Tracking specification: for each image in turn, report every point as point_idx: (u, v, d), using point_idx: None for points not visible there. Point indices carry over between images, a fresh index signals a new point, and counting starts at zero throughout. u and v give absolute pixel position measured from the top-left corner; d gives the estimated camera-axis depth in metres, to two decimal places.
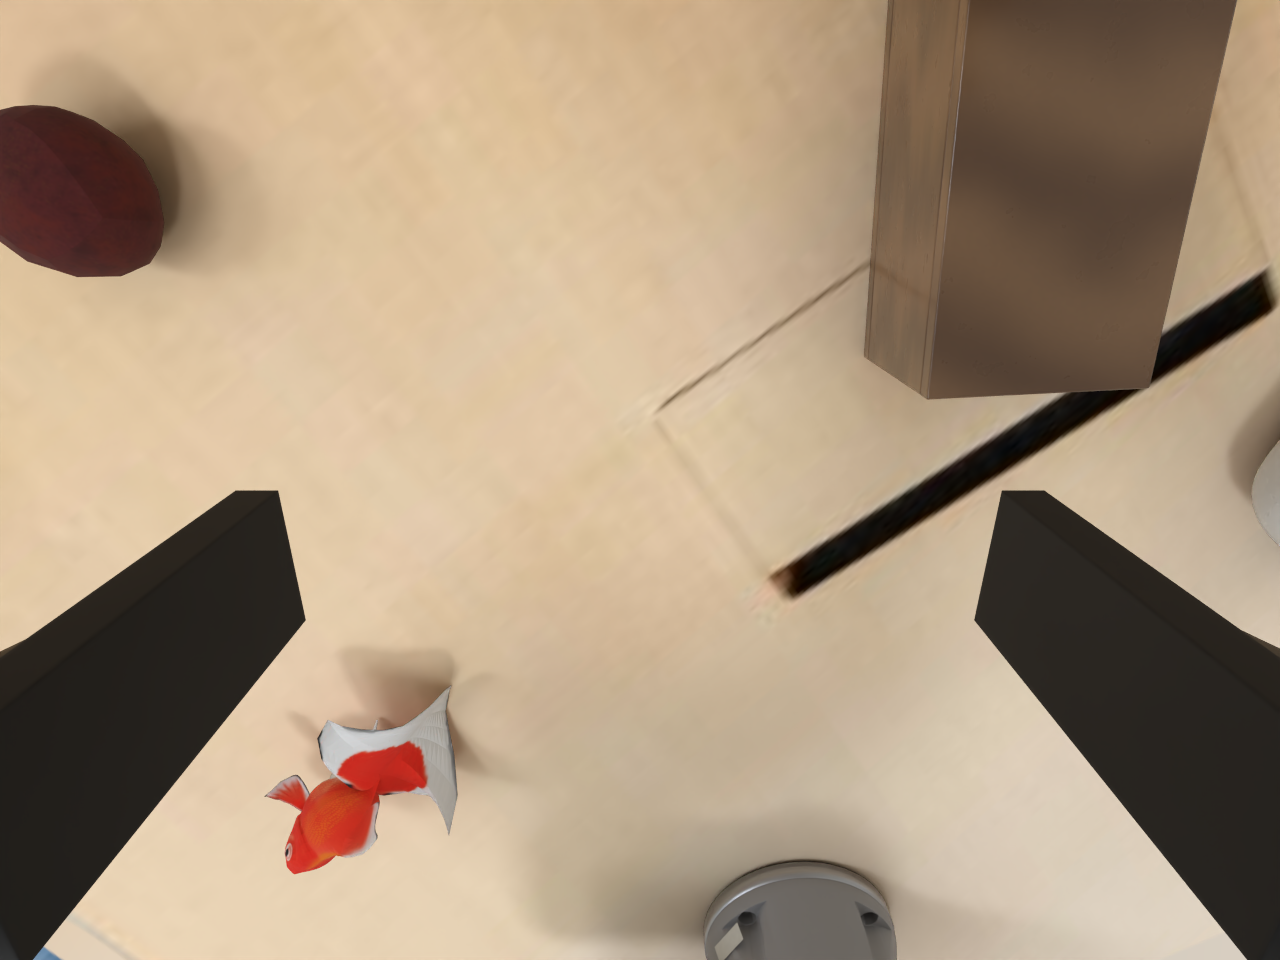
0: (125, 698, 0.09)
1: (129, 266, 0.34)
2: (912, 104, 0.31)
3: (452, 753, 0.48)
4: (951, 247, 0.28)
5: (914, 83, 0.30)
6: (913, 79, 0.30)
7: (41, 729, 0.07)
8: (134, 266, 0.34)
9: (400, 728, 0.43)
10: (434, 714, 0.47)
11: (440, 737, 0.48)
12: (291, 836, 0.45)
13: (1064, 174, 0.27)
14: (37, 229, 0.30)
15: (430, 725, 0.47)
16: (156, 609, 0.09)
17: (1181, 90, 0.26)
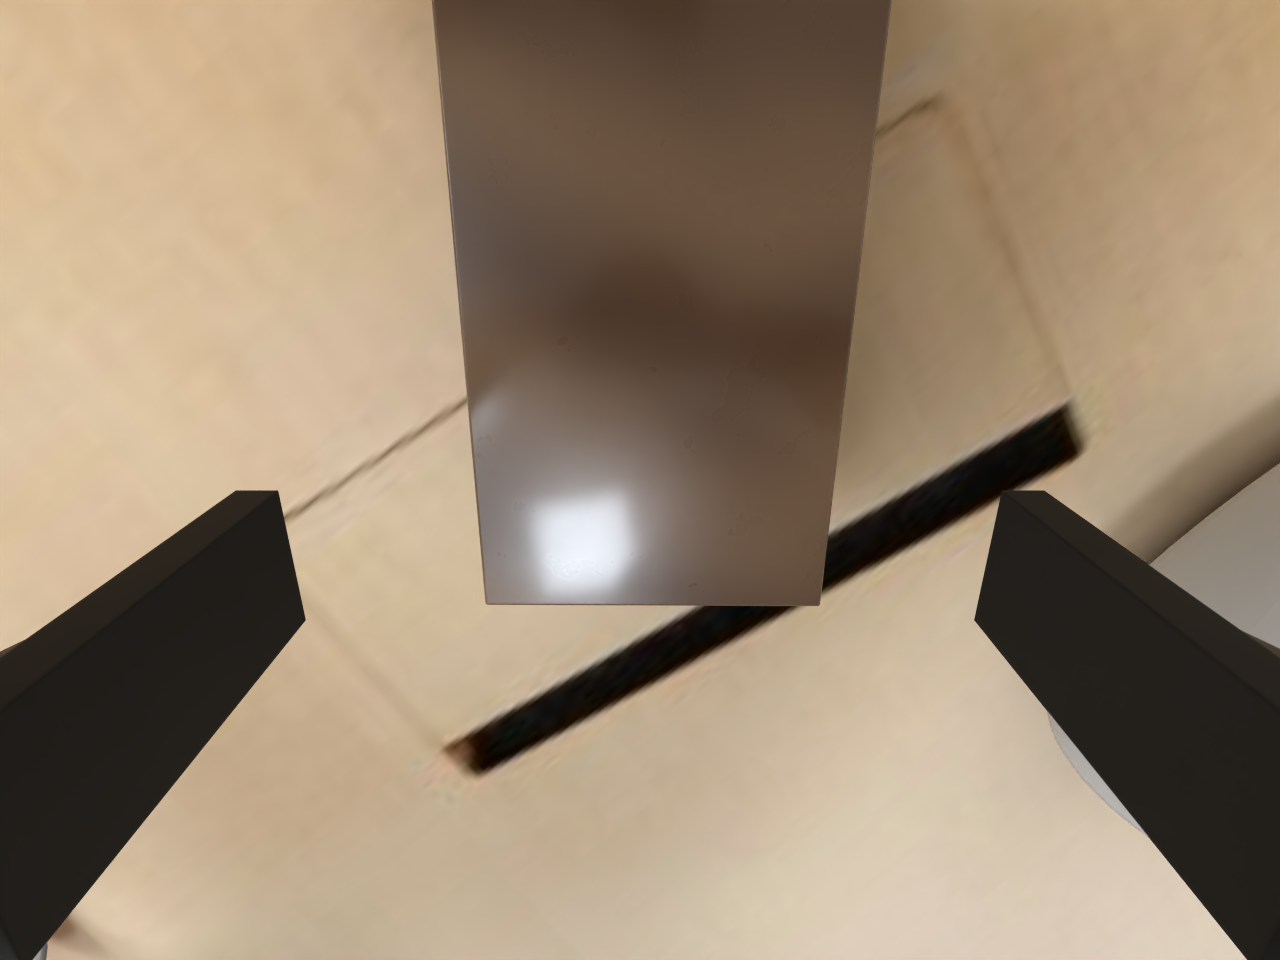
0: (125, 698, 0.09)
1: None
2: None
3: None
4: (479, 390, 0.18)
5: None
6: None
7: (42, 729, 0.07)
8: None
9: None
10: None
11: None
12: None
13: (640, 290, 0.17)
14: None
15: None
16: (156, 609, 0.09)
17: (812, 169, 0.16)
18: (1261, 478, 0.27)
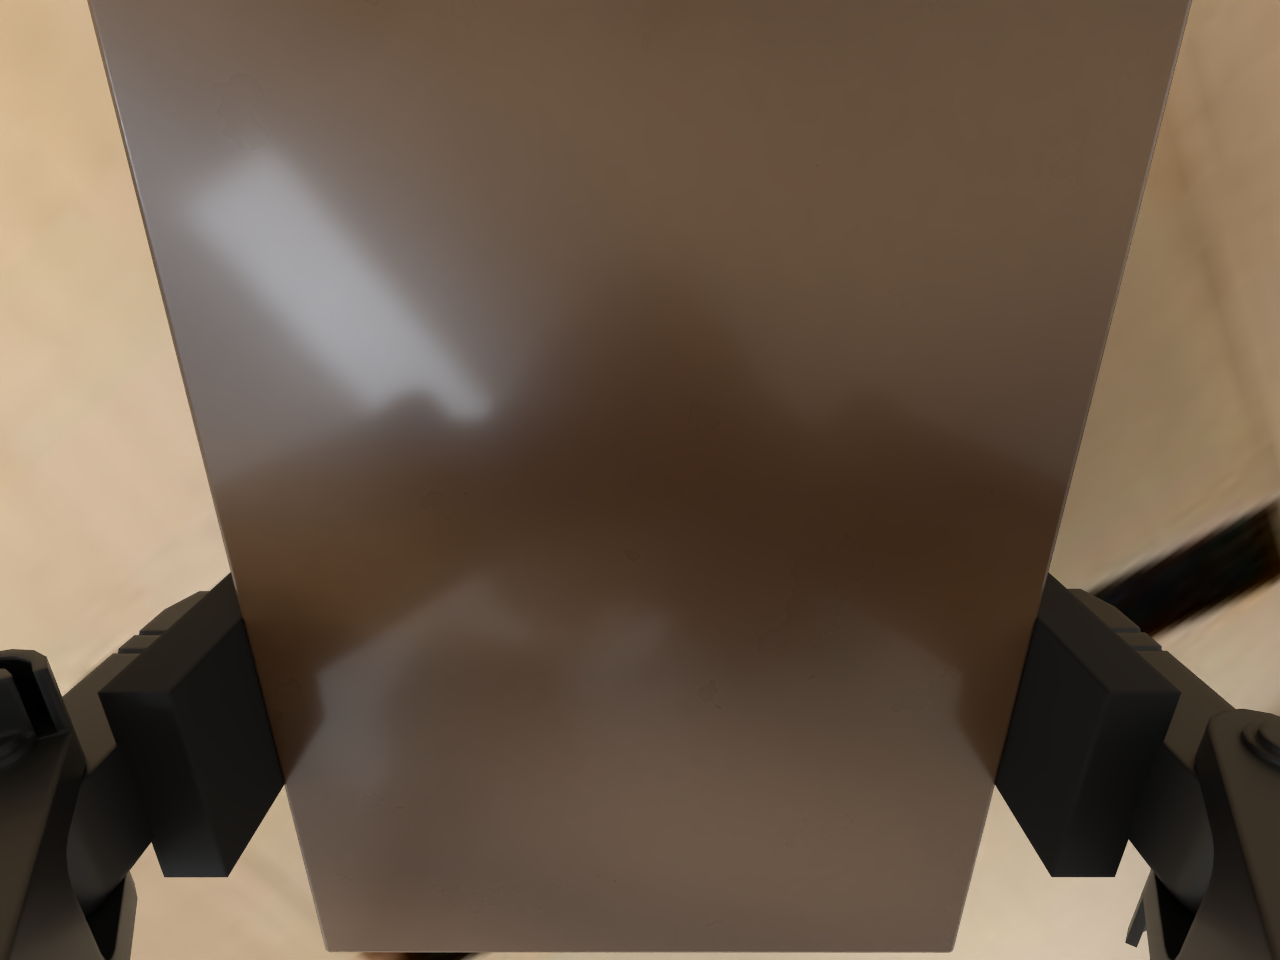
0: None
1: None
2: None
3: None
4: (263, 597, 0.08)
5: None
6: None
7: (237, 667, 0.08)
8: None
9: None
10: None
11: None
12: None
13: (601, 394, 0.07)
14: None
15: None
16: None
17: (1020, 108, 0.06)
18: None
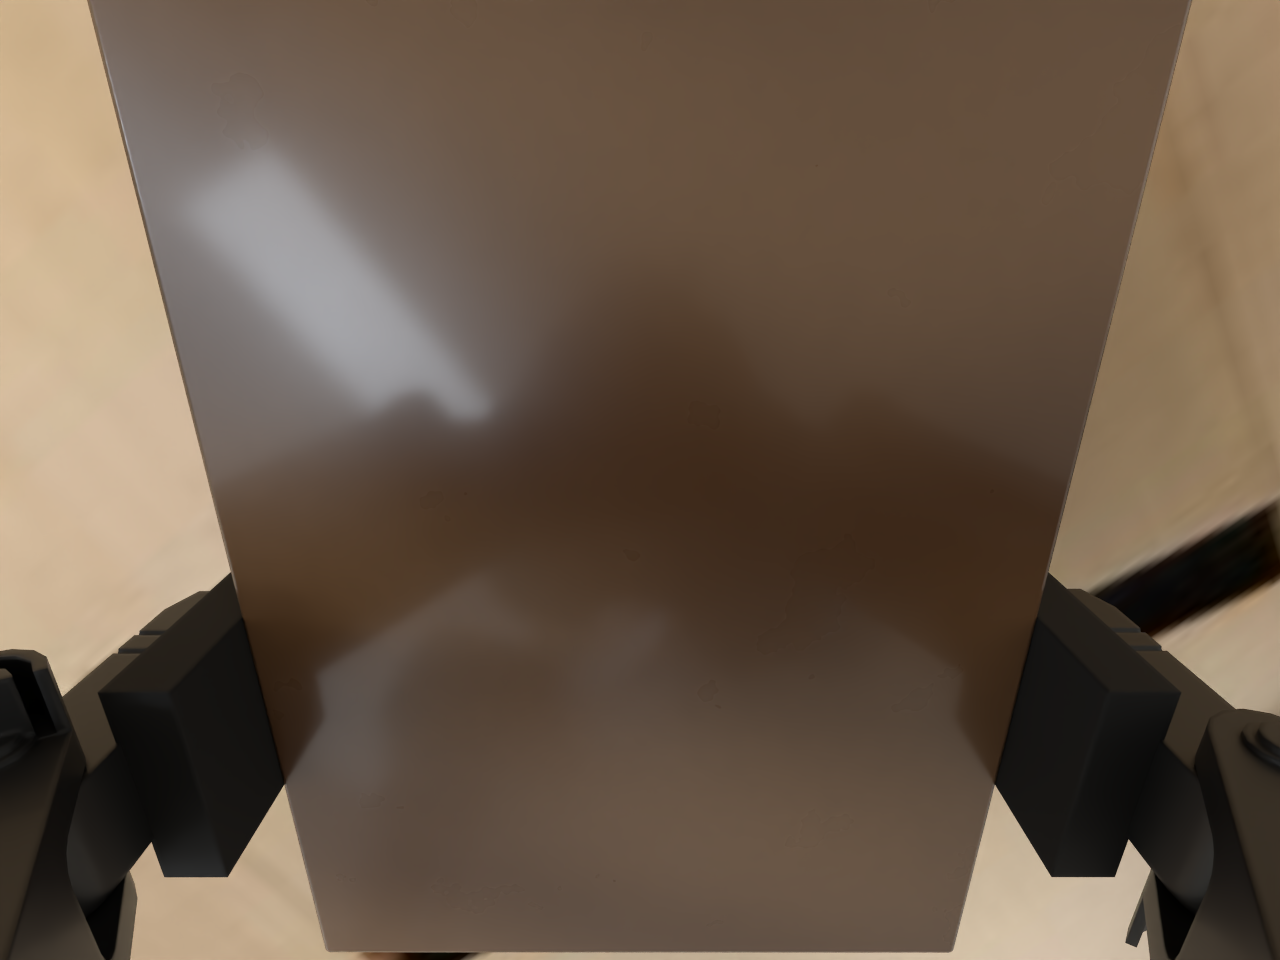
0: None
1: None
2: None
3: None
4: (263, 597, 0.08)
5: None
6: None
7: (237, 667, 0.08)
8: None
9: None
10: None
11: None
12: None
13: (601, 394, 0.07)
14: None
15: None
16: None
17: (1021, 108, 0.06)
18: None
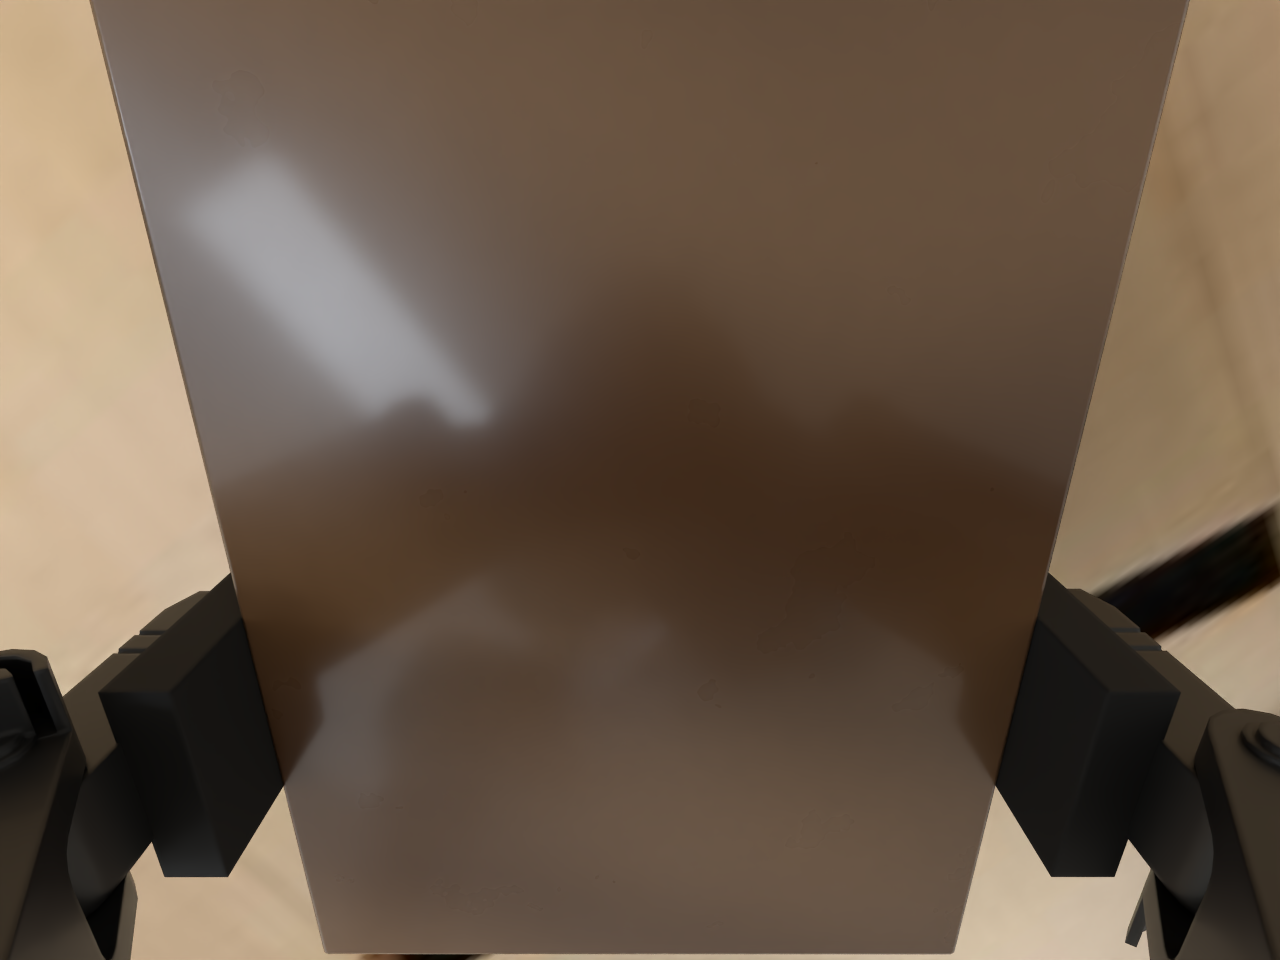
0: None
1: None
2: None
3: None
4: (262, 596, 0.08)
5: None
6: None
7: (237, 667, 0.08)
8: None
9: None
10: None
11: None
12: None
13: (601, 392, 0.07)
14: None
15: None
16: None
17: (1019, 106, 0.06)
18: None
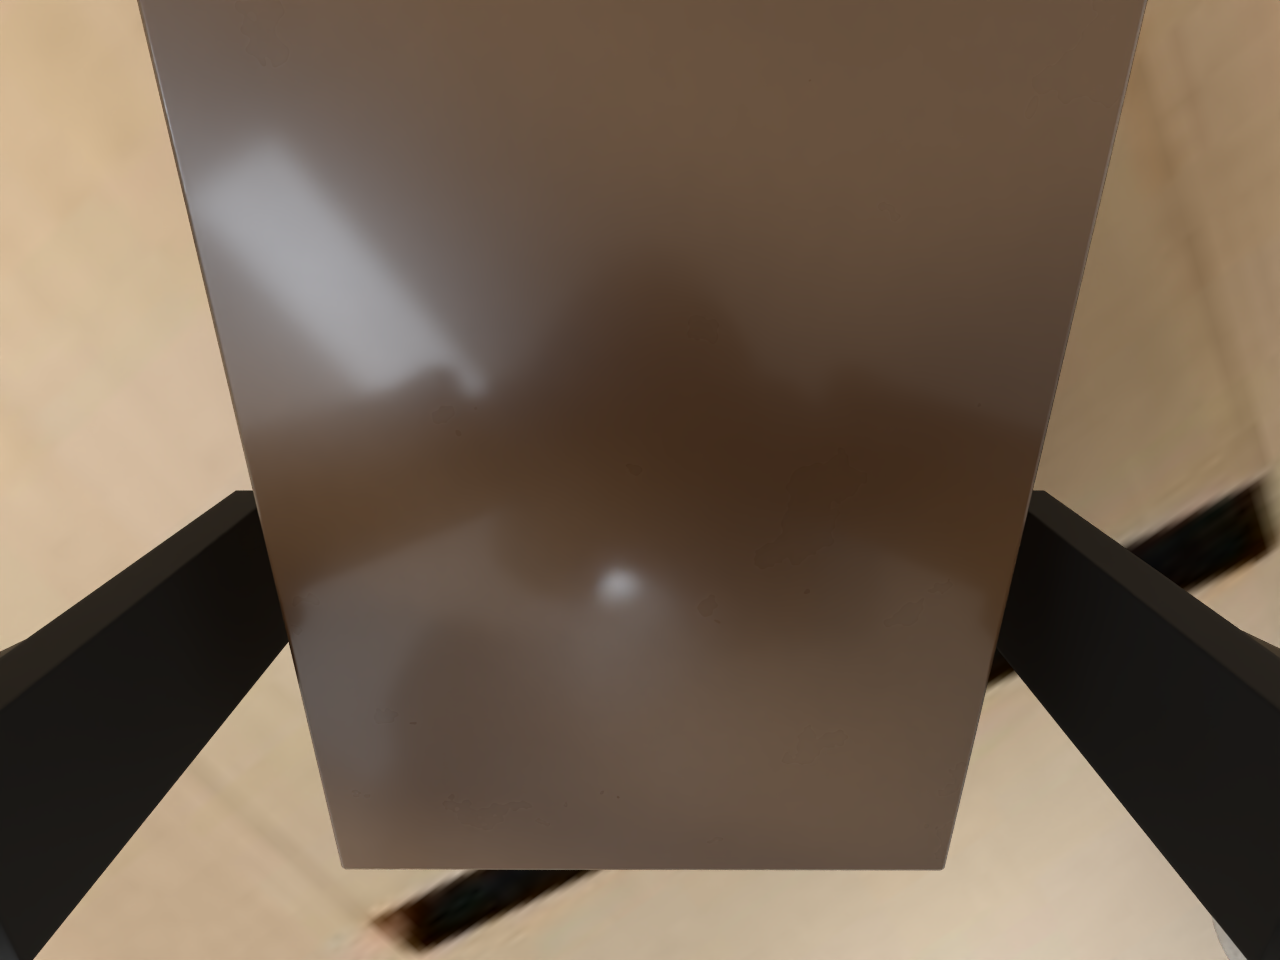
0: (126, 698, 0.09)
1: None
2: None
3: None
4: (283, 512, 0.09)
5: None
6: None
7: (42, 729, 0.07)
8: None
9: None
10: None
11: None
12: None
13: (605, 309, 0.08)
14: None
15: None
16: (157, 609, 0.09)
17: (1004, 23, 0.07)
18: None
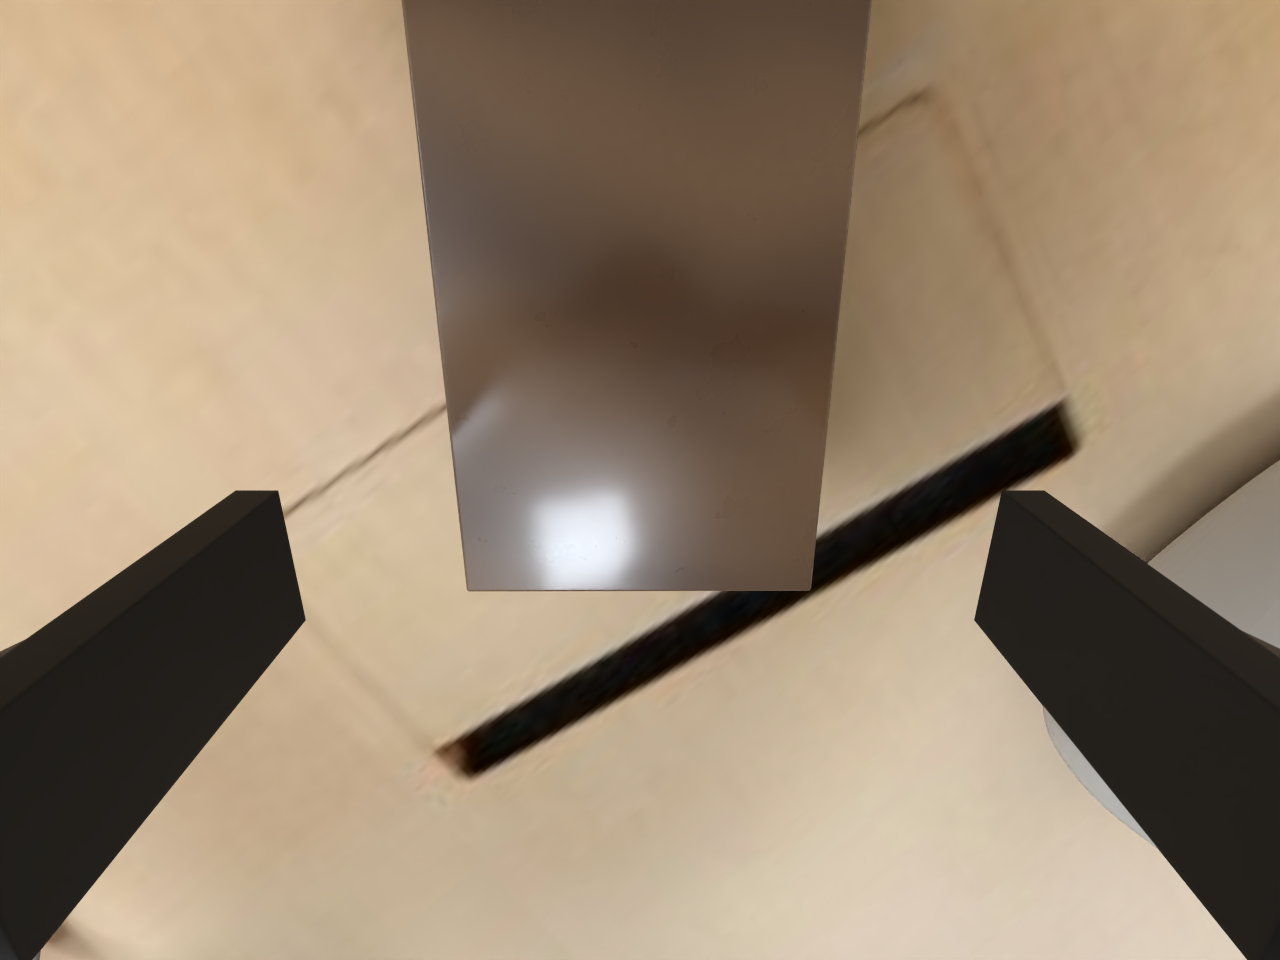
0: (125, 698, 0.09)
1: None
2: None
3: None
4: (456, 368, 0.17)
5: None
6: None
7: (41, 729, 0.07)
8: None
9: None
10: None
11: None
12: None
13: (620, 262, 0.16)
14: None
15: None
16: (156, 609, 0.09)
17: (796, 133, 0.15)
18: (1260, 476, 0.26)
